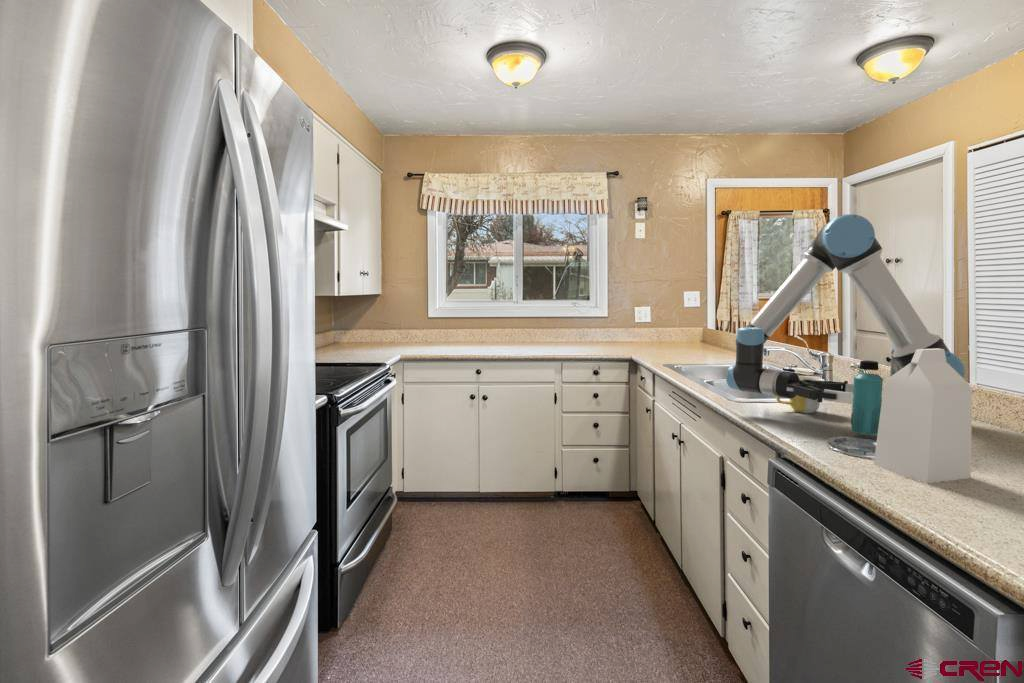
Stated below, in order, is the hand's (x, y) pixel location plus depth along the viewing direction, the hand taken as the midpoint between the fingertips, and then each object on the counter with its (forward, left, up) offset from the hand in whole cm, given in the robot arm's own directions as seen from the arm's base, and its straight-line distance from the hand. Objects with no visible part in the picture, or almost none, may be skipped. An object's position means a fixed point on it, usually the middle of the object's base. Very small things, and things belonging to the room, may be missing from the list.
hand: (863, 395), depth 139 cm
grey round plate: (+10, +9, -11) cm, 17 cm away
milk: (+12, +24, -11) cm, 29 cm away
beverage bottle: (-1, +1, -11) cm, 11 cm away
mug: (-9, -28, -11) cm, 32 cm away
